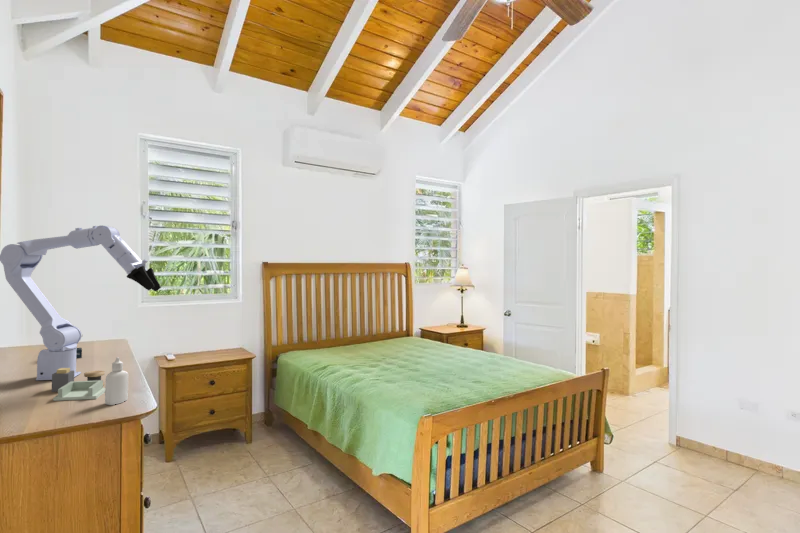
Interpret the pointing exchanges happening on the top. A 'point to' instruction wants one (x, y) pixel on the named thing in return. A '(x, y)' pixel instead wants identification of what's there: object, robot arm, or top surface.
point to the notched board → (80, 390)
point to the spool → (94, 375)
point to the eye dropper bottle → (116, 384)
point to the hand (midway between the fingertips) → (155, 289)
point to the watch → (79, 352)
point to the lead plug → (61, 378)
